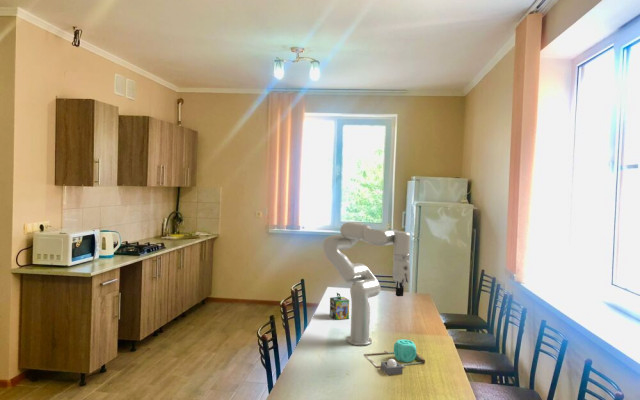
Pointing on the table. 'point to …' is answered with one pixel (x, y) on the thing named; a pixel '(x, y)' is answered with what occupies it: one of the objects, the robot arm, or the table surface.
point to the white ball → (391, 363)
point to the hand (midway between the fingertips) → (399, 295)
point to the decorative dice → (405, 350)
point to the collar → (391, 368)
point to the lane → (419, 358)
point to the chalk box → (339, 307)
